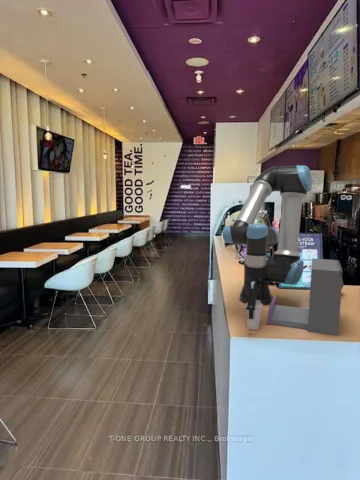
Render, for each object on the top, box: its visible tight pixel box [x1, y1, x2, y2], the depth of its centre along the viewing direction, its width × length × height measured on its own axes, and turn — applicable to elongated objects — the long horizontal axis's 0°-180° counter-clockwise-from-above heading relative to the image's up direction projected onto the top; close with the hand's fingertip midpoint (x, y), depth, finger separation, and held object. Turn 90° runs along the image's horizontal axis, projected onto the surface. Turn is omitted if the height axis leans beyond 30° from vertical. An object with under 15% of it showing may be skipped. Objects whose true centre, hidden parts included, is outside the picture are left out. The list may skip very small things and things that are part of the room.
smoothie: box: [245, 302, 264, 331], centre depth 133 cm, size 6×6×14 cm
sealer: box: [307, 258, 344, 336], centre depth 138 cm, size 10×23×24 cm, turn 159°
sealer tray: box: [267, 296, 309, 330], centre depth 144 cm, size 16×20×6 cm
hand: (253, 321), depth 134 cm, fingers open, 12 cm apart
